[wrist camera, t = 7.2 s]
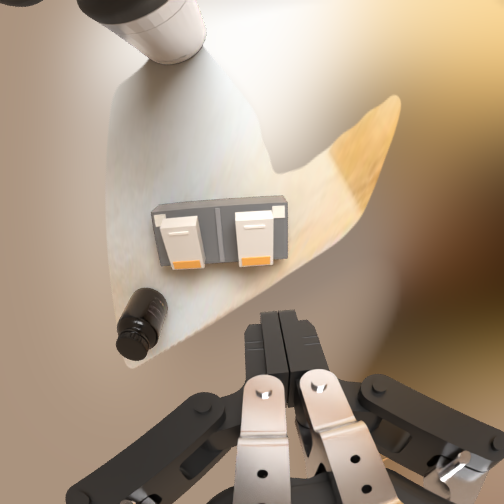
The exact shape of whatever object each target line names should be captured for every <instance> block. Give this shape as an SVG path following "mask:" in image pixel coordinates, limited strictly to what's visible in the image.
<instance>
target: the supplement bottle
mask: <svg viewBox="0 0 504 504" xmlns="http://www.w3.org/2000/svg"><path fill="white" fill-rule="evenodd" d="M167 309H168V306H167V302H166V300H165V298H164V297H163V295H162V294H161V293H159V292H158V291H156V290H154V289H151V288H141V289H138V290H137V291H135V292H134V293H133V295H132V297H131V298H130V300H129V302H128V304H127V306H126V308H125V310H124V312H123V314H122V316H121V318H120V319H119V322H118V324H117V332H118V335H119V336H118V339H117V341H116V347H117V350H118V351H119V352H120V354H121V355H122V356H124V357H125V358H127V359H130V360H133V361H139V360H143V359H144V358H145V357H146V355H147V352H148V350H149V349H151V348H153V347H154V346H155V345H156V344H157V342H158V339H159V336H160V333H161V330H162V326H163V323H164V320H165V317H166V313H167Z"/></svg>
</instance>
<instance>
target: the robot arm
mask: <svg viewBox="0 0 504 504" xmlns="http://www.w3.org/2000/svg"><path fill="white" fill-rule="evenodd" d="M41 1H43V0H0V3H2V4H5V5H9V6H16V7H26V6H31V5H34V4H37V3H39V2H41ZM77 3H78V5H79V7H80V9H81V10H82V12H84V13H85V14H86V15H87V16H89V17H90V18H92V19H94V20H95V21H97V22H99V23H100V24H102V25H103V26H105V27H106V28H108V29H109V30H111V31H112V32H114V33H115V34H117V35H118V36H120V37H121V38H122V39H124V40H125V41H127V42H128V43H129V44H131V45H132V46H134V47H135V48H137V49H138V50H139V51H140V52H142V53H143V54H144V55H146V56H147V57H148V58H150V59H151V60H153V61H154V62H157V63H160V64H167V65H168V64H176V63H180V62H183V61H185V60H187V59H189V58H190V57H192V56H193V55H195V54H196V53H197V52H198V51H199V50H200V48H201V47H202V46H203V43H204V41H205V38H206V27H205V24H204V21H203V18H202V14H201V11H200V9H199V6H198V3H197V0H77ZM260 319H261V324H252V325H249V326H248V327H247V329H246V331H245V334H244V335H245V364H246V381H245V384H244V385H243V387H242V388H241V389H240V390H238V391H237V392H235V393H233V394H231V395H228V396H225V397H221V398H219V397H218V396H217V395H215V394H212V393H208V392H201V393H197V394H194V395H192V396H191V397H189V398H188V399H187V400H186V401H184V402H183V403H182V404H181V405H180V406H178V407H177V408H176V409H175V410H174V411H172V412H171V413H170V414H169V415H168V416H167V417H165V418H164V419H163V420H162V421H161V422H159V423H158V424H157V425H155V426H154V427H153V428H152V429H150V430H149V431H148V432H147V433H145V434H144V435H143V436H141V437H140V438H139V439H138V440H136V441H135V442H134V443H132V444H131V445H130V446H128V447H127V448H126V449H124V450H123V451H122V452H120V453H119V454H118V455H116V456H115V457H114V458H112V459H111V460H109V461H108V462H107V463H105V464H104V465H102V466H101V467H100V468H98V469H97V470H95V471H94V472H92V473H91V474H89V475H88V476H87V477H85V478H84V479H82V480H81V481H79V482H78V483H76V484H74V485H73V486H72V487H70V488H69V490H68V491H67V493H66V504H172V503H173V502H175V501H176V500H177V499H178V498H179V497H180V496H182V495H183V494H184V493H185V492H186V491H187V490H189V489H190V488H191V487H192V486H193V485H194V484H195V483H196V482H197V481H198V480H200V479H201V478H202V477H203V476H204V475H205V474H206V473H207V472H208V471H209V470H210V469H211V468H212V467H213V466H214V465H215V464H216V463H217V462H218V461H219V460H220V459H221V458H222V457H223V456H224V455H225V454H226V453H227V452H228V451H229V450H230V449H231V447H234V446H237V457H236V470H235V484H234V486H233V487H230V488H228V489H226V490H224V491H222V492H220V493H219V494H217V495H216V496H214V497H213V498H212V499H211V500H210V501H209V502H208V503H207V504H474V502H475V500H476V498H477V495H478V494H479V492H480V489H481V487H482V485H483V483H484V481H485V478H486V476H487V473H488V471H489V470H490V469H491V468H492V467H494V466H495V465H496V464H497V463H499V462H500V461H501V460H502V459H503V458H504V432H503V431H501V430H499V429H496V428H494V427H492V426H489V425H487V424H485V423H483V422H480V421H478V420H476V419H474V418H471V417H469V416H467V415H465V414H463V413H461V412H459V411H456V410H454V409H452V408H450V407H448V406H446V405H444V404H442V403H440V402H438V401H435V400H433V399H431V398H429V397H427V396H425V395H423V394H421V393H419V392H417V391H415V390H413V389H411V388H409V387H407V386H405V385H403V384H402V383H400V382H398V381H396V380H394V379H392V378H390V377H388V376H386V375H382V374H374V375H370V376H368V377H367V378H365V379H364V381H363V382H362V383H358V382H347V381H343V380H340V379H338V378H337V377H336V376H335V375H334V374H333V373H331V372H330V370H329V368H328V365H327V362H326V359H325V356H324V353H323V350H322V347H321V345H320V342H319V338H318V337H317V333H316V330H315V327H314V326H313V325H312V324H311V323H310V322H309V321H308V320H300V321H298V319H297V316H296V312H295V310H284V311H278V314H277V311H273V312H261V313H260ZM286 405H288V408H290V407H294V408H295V414H296V417H295V425H296V429H297V432H298V436H299V440H300V443H301V447H302V451H303V454H304V458H305V464H306V475H307V479H301V478H290V465H289V444H288V436H287V431H286V411H285V408H286ZM379 453H380V454H382V455H384V456H386V457H387V458H389V459H391V460H393V461H395V462H397V463H399V464H400V465H402V466H404V467H406V468H408V469H410V470H412V471H414V472H416V473H418V474H420V475H422V476H424V479H423V481H424V488H423V487H421V486H420V485H418V484H416V483H414V482H412V481H411V480H409V479H407V478H405V477H404V476H402V475H400V474H398V473H397V472H395V471H393V470H390V469H388V468H385V466H384V464H383V461H382V459H381V457H380V455H379Z"/></svg>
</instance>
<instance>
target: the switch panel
mask: <svg viewBox="0 0 504 504" xmlns="http://www.w3.org/2000/svg"><path fill="white" fill-rule="evenodd" d="M267 210H272V214H273V219H274V223H273V259H287V258H288V203H287V201H286V199H285V198H284V196H261V197H244V198H229V199H215V200H203V201H191V202H181V203H171V204H161V205H158V206H157V207H156V208H155V209H154V210H153V211H152V212H151V216H152V222H153V228H154V233H155V239H156V244H157V249H158V254H159V259H160V264H161V266H171V263H170V260H169V257H168V254H167V251H166V248H165V244H164V241H163V238H162V234H161V231H160V226H161V223H162V220H163V219H166V218H177V217H189V216H198V222H199V227H200V232H201V238H202V243H203V248H204V253H205V264H208V263H224V262H239V258H238V247H237V235H236V224H235V212H250V211H267Z"/></svg>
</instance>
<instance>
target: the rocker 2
mask: <svg viewBox="0 0 504 504" xmlns="http://www.w3.org/2000/svg"><path fill="white" fill-rule="evenodd" d="M273 223H274V219H273V214H272V210H267V211H250V212H235V224H236V235H237V247H238V258H239V267H247V266H263V265H273Z"/></svg>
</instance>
